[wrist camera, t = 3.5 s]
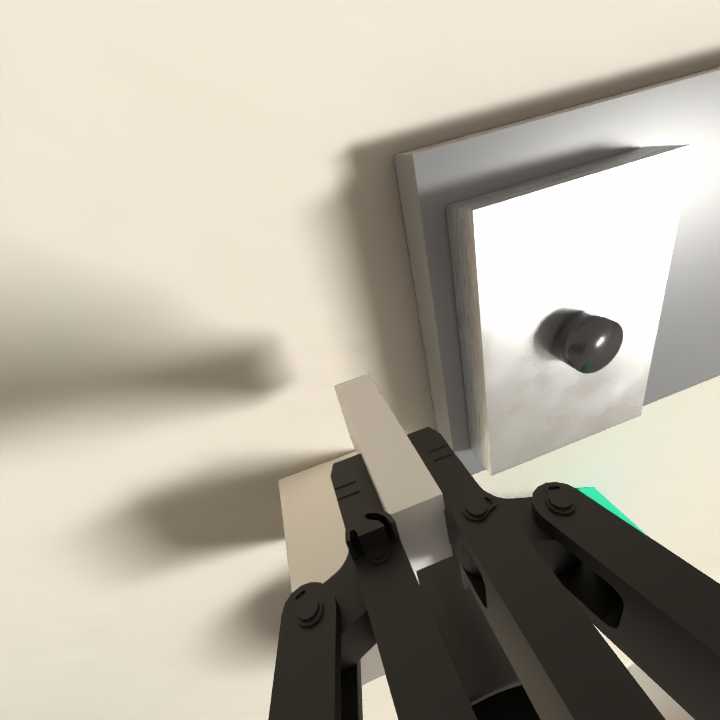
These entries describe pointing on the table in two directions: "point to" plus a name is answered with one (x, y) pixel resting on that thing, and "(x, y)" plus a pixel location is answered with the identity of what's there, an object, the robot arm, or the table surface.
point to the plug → (318, 537)
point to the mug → (473, 645)
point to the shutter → (562, 299)
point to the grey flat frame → (551, 155)
